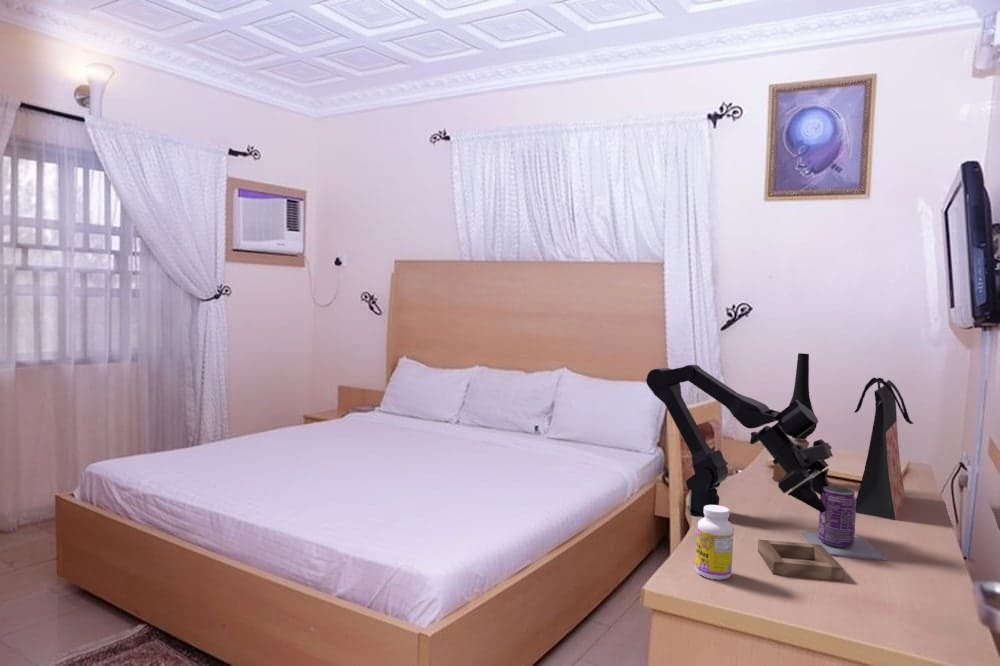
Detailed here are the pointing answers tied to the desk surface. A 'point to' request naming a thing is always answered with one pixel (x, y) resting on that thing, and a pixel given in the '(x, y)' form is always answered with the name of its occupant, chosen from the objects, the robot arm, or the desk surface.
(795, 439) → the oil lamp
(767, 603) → the desk surface
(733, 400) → the robot arm
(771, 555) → the walnut collar
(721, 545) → the supplement bottle
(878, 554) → the grey pad
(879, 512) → the gift bag
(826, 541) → the beverage can
